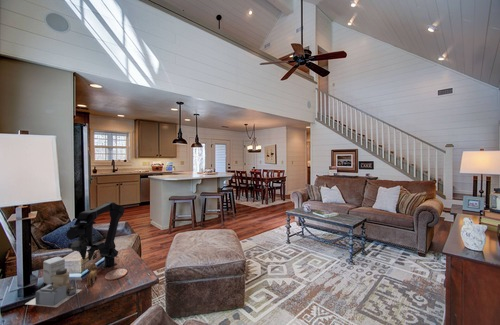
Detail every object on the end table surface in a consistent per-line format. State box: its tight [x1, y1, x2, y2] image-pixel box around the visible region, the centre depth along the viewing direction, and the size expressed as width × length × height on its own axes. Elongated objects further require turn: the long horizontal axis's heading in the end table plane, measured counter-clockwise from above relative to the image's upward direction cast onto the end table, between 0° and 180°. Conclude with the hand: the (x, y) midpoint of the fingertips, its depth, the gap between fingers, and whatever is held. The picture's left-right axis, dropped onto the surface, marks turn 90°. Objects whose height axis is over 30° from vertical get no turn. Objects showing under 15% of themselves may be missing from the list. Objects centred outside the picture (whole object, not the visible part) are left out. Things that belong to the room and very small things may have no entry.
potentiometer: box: [67, 286, 77, 297], centre depth 114 cm, size 4×4×3 cm
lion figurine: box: [86, 262, 99, 287], centre depth 127 cm, size 15×5×9 cm, turn 36°
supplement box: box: [42, 256, 66, 285], centre depth 127 cm, size 7×7×13 cm
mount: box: [25, 283, 82, 308], centre depth 112 cm, size 14×17×8 cm
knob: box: [52, 267, 70, 294], centre depth 113 cm, size 4×5×12 cm
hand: (86, 259), depth 129 cm, fingers open, 3 cm apart
